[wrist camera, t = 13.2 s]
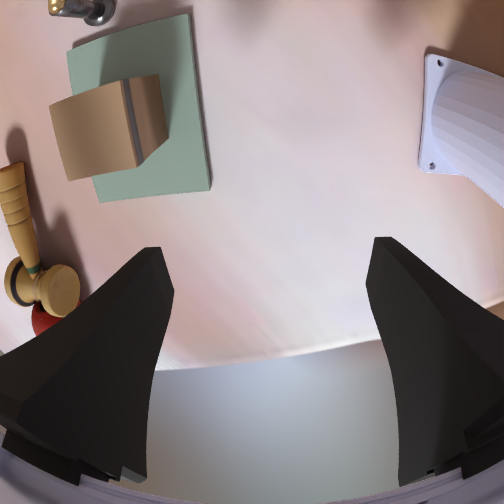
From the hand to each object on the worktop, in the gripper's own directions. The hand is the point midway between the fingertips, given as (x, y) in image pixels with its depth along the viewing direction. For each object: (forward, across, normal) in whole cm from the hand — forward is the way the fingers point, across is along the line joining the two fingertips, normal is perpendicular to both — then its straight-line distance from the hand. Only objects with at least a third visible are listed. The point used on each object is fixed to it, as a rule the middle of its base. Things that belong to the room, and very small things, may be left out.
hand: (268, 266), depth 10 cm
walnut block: (+9, +8, -5) cm, 12 cm away
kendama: (+10, +20, +5) cm, 23 cm away
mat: (+9, +8, -4) cm, 13 cm away
